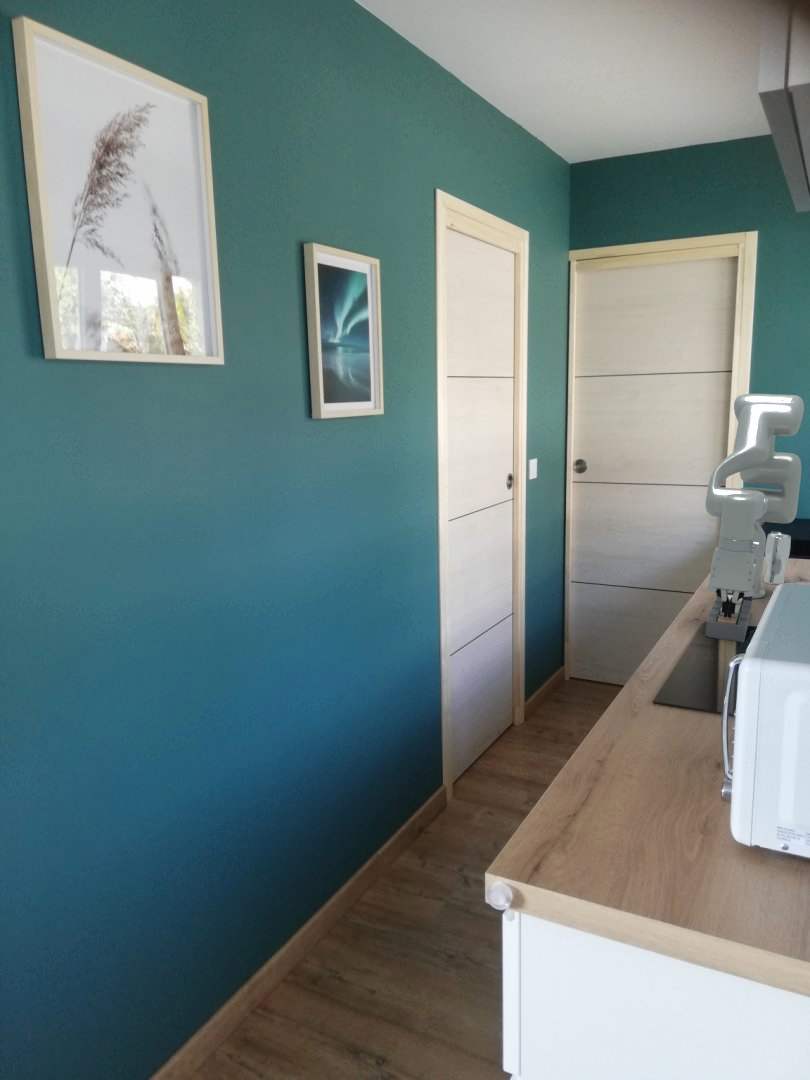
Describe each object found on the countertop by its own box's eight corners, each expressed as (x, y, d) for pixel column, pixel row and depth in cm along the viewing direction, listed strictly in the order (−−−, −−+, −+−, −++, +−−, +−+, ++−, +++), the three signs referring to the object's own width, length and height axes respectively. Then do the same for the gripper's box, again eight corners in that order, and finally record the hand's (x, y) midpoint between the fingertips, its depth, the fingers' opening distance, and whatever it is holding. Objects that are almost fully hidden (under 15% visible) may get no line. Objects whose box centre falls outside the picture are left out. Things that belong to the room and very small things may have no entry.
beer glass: (788, 586, 248) (794, 538, 244) (764, 584, 249) (769, 537, 246) (782, 580, 254) (788, 534, 251) (759, 578, 256) (764, 532, 252)
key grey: (721, 612, 209) (721, 606, 208) (738, 614, 207) (739, 608, 206) (719, 616, 205) (720, 610, 205) (737, 618, 203) (737, 612, 203)
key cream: (725, 599, 220) (725, 594, 219) (741, 602, 218) (742, 596, 217) (723, 603, 216) (724, 598, 215) (740, 606, 214) (741, 600, 214)
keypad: (715, 608, 224) (719, 576, 222) (750, 612, 220) (754, 581, 218) (705, 636, 200) (708, 601, 198) (743, 642, 196) (747, 607, 194)
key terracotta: (718, 621, 203) (719, 615, 203) (736, 624, 202) (736, 618, 201) (716, 626, 200) (717, 620, 199) (734, 629, 198) (735, 622, 198)
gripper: (769, 544, 196) (761, 616, 201) (704, 538, 203) (698, 607, 207) (768, 551, 190) (759, 625, 194) (701, 544, 196) (694, 615, 200)
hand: (727, 615), depth 200 cm, fingers closed
